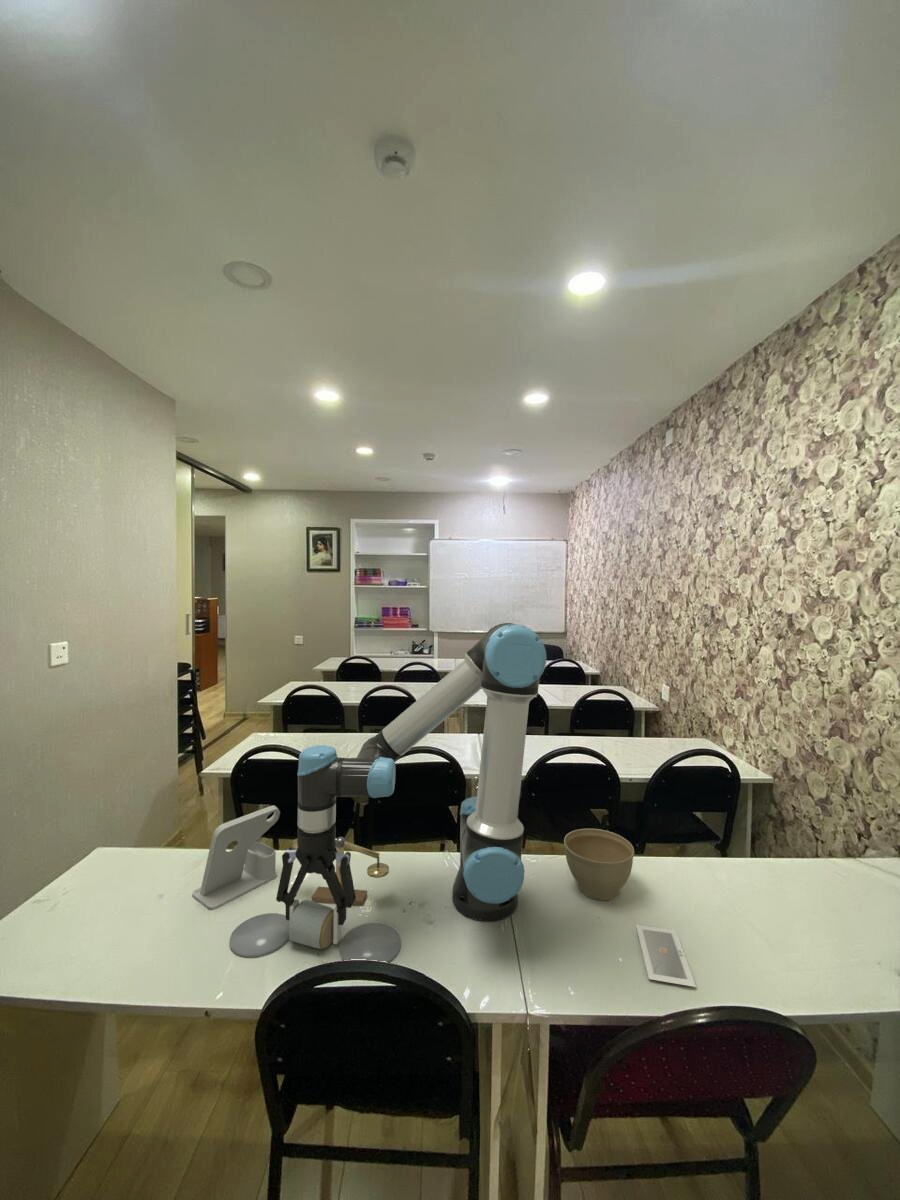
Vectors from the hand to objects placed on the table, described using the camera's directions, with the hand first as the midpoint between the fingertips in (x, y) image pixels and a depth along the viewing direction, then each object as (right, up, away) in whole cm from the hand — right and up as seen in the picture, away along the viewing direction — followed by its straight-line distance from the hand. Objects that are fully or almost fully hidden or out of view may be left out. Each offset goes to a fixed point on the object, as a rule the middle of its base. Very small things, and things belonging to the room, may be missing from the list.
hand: (315, 937), depth 96 cm
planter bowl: (+63, -2, +18) cm, 66 cm away
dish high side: (-11, -1, +1) cm, 12 cm away
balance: (+2, -1, +14) cm, 14 cm away
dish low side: (+11, -1, -1) cm, 11 cm away
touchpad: (+69, -2, -3) cm, 69 cm away
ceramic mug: (0, -1, +1) cm, 2 cm away
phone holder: (-24, -1, +19) cm, 31 cm away
